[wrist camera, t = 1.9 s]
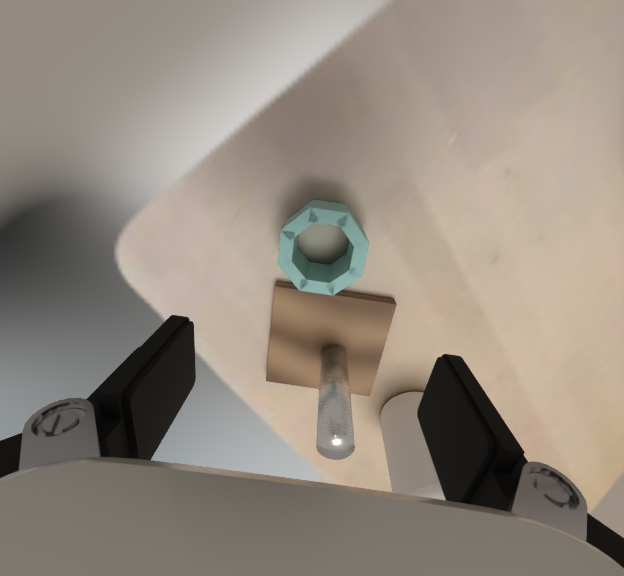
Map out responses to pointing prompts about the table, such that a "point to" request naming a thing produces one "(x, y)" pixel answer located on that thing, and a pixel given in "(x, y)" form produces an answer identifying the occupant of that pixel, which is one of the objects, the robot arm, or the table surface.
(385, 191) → the table surface
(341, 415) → the grey metal peg
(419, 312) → the table surface
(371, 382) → the board
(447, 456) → the robot arm
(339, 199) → the table surface
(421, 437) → the pill bottle
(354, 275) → the ring
